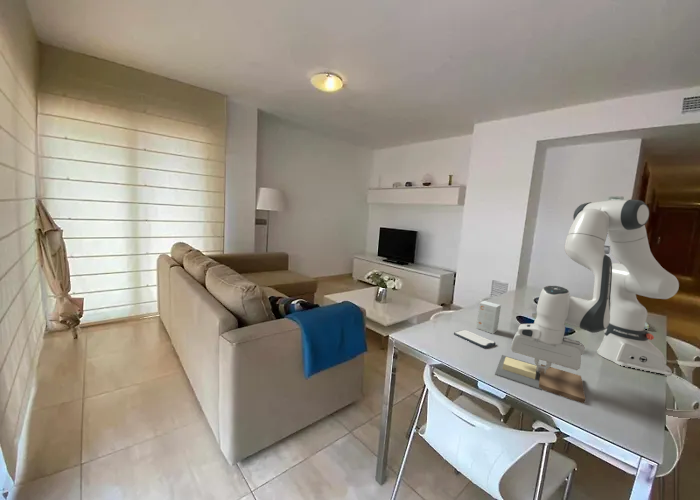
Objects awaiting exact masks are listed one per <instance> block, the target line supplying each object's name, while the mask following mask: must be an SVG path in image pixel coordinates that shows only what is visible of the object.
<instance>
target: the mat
mask: <svg viewBox="0 0 700 500" xmlns="http://www.w3.org/2000/svg"><path fill="white" fill-rule="evenodd" d="M500 356H501V357H500V360H499V362H498V365H497V368H496V370H495V372H494V375H495V376H498V377H500V378H504V379H507V380H510V381H513V382H515V383H518V384H519V383H520V384H521V385H525V386H527V387H531V388H533V389H537V390H539V391H540V390H541V391H543V390H542V388H539V379H540V372H539V371H536V376H535V379H532V378H529V377H526V376H523V375H520V374H517V373H513V372H510V371H507V370H504V369H503V364H504V361H505V358H506V357H509V358H512V359H515V360H519V361H522V362H525V363H529V364H532V365H535V366H536V364H534V363H531V362H528V361H524V360H520V359H517V358H514V357H511V356H507V355H504V354H502V355H500ZM536 370H537V368H536Z"/></svg>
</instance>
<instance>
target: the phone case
mask: <svg viewBox="0 0 700 500" xmlns="http://www.w3.org/2000/svg"><path fill="white" fill-rule="evenodd" d="M453 335H455V336H456V337H458V338H461V339H463V340H464V341H466V340H467V342H468V341H469V343H471V344H473V345H475V346H477V347H480V348H482V349H488V348H492V347H495V346H496V342H495V341H493V340H492V339H488V338H486V337H484V336H482V335H479V334H477V333H474V332H472V331H470V330H466V329H462V330H458V331H454V333H453Z"/></svg>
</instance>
